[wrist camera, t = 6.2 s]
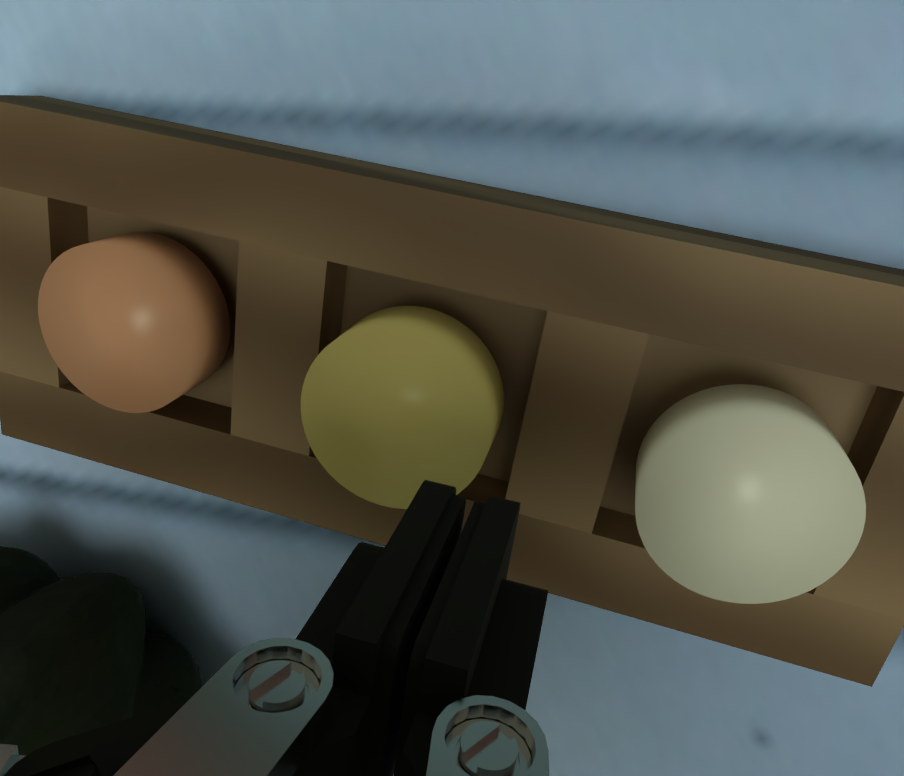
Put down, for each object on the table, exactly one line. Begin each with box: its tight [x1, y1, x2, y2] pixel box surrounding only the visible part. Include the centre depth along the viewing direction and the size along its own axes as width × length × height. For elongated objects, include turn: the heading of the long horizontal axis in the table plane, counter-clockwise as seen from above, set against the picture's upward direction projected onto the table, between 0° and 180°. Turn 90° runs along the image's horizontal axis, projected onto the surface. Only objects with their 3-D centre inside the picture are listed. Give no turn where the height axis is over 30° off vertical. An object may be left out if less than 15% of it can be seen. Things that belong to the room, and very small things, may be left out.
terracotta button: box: [38, 232, 230, 413], centre depth 20 cm, size 5×5×2 cm
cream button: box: [635, 384, 866, 604], centre depth 16 cm, size 5×5×2 cm
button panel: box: [0, 95, 904, 687], centre depth 20 cm, size 10×26×2 cm, turn 80°
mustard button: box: [301, 306, 504, 509], centre depth 18 cm, size 5×5×2 cm
